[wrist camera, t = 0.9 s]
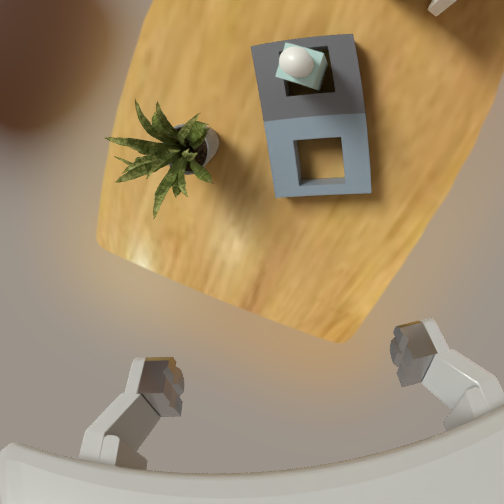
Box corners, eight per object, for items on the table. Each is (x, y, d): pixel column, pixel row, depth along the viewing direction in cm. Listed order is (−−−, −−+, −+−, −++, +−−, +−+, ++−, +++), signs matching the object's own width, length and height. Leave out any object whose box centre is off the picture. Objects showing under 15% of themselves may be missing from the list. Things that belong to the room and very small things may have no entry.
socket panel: (257, 49, 37) (250, 46, 34) (352, 39, 33) (352, 33, 30) (280, 190, 46) (275, 197, 43) (369, 186, 42) (371, 193, 39)
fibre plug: (299, 55, 36) (280, 37, 24) (328, 64, 35) (322, 48, 23) (291, 81, 38) (268, 74, 26) (319, 90, 37) (309, 86, 26)
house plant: (203, 70, 40) (138, 64, 26) (271, 132, 42) (234, 151, 28) (150, 138, 47) (81, 162, 33) (209, 196, 49) (155, 240, 35)
